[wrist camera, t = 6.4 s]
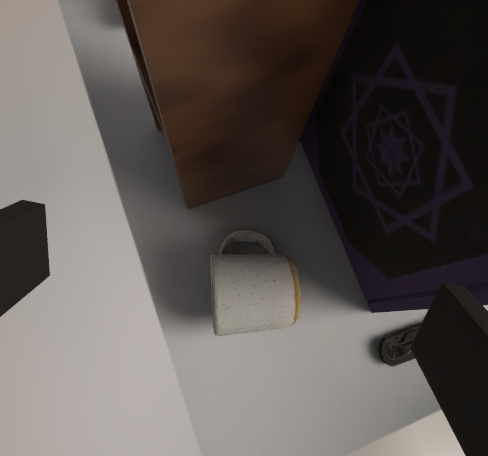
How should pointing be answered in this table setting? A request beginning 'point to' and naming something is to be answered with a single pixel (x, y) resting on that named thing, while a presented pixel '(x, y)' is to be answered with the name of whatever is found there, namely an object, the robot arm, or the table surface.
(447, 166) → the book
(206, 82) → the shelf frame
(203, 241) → the table surface
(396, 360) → the folding knife
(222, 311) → the ceramic mug
